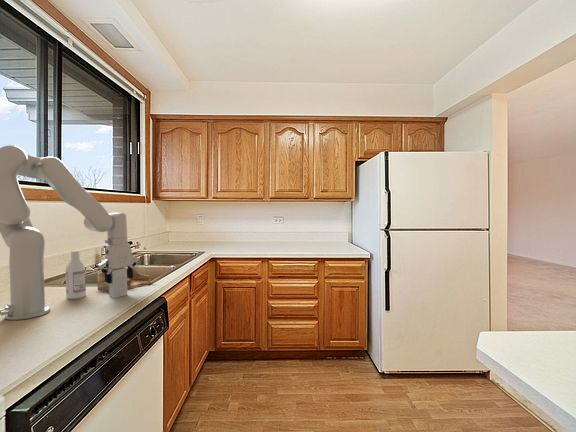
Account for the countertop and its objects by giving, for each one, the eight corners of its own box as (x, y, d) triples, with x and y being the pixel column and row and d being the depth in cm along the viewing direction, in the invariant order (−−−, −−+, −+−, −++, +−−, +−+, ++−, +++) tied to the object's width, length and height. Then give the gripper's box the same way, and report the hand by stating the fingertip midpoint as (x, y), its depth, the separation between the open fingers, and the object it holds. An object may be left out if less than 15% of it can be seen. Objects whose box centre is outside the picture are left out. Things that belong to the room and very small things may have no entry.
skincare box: (123, 293, 141) (122, 266, 140) (127, 295, 138) (127, 268, 138) (108, 296, 136) (108, 269, 136) (112, 298, 134) (112, 270, 133)
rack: (111, 293, 141) (111, 275, 141) (97, 289, 147) (97, 272, 146) (150, 283, 159) (150, 267, 158) (136, 280, 164) (136, 265, 164)
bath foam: (89, 294, 139) (88, 249, 138) (78, 299, 132) (77, 251, 131) (73, 294, 139) (72, 249, 138) (62, 299, 132) (61, 251, 131)
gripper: (102, 244, 127) (104, 286, 128) (141, 239, 142) (142, 276, 143) (92, 243, 131) (94, 284, 132) (130, 238, 146) (132, 275, 147)
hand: (119, 280), depth 138 cm, fingers open, 9 cm apart
